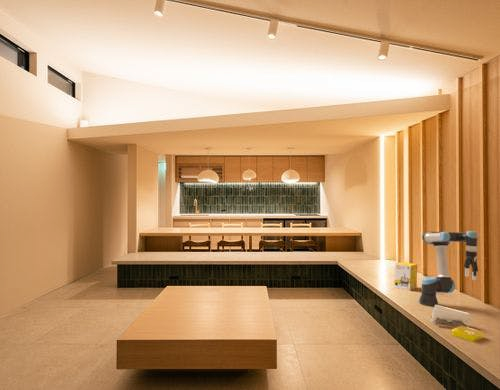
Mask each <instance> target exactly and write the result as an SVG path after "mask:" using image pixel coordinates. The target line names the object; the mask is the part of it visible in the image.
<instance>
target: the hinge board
mask: <svg viewBox="0 0 500 390" xmlns="http://www.w3.org/2000/svg"><path fill="white" fill-rule="evenodd" d="M431 318H432V315H431V316H430V319H431ZM433 323H434V324H436V326H437V327H438V328H441V329H442V328H443V329H451V330H452V329H453V328H456V327H459V326H465V327H468V328H470V327H469V326H468V325H467V324H465V322H462V321H455V320H453V322H450V321H447V320H444V319H440V318H439V317H437V318H436V320H435V321H433Z"/></svg>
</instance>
